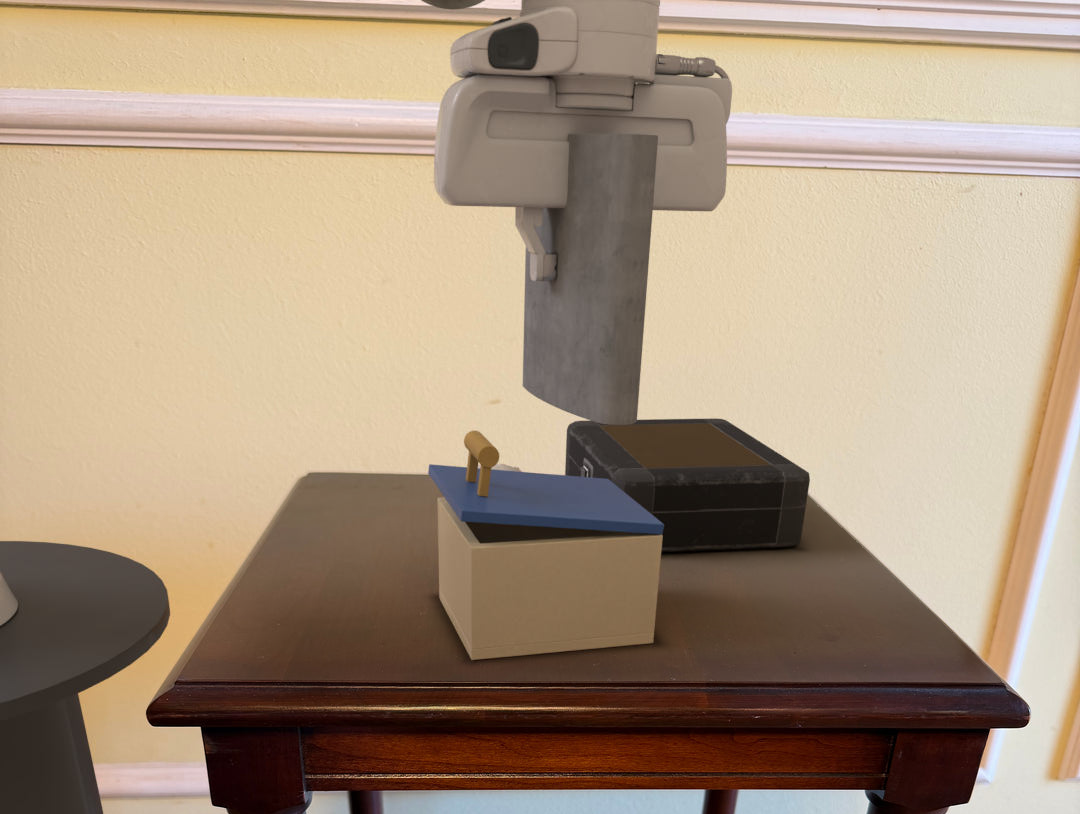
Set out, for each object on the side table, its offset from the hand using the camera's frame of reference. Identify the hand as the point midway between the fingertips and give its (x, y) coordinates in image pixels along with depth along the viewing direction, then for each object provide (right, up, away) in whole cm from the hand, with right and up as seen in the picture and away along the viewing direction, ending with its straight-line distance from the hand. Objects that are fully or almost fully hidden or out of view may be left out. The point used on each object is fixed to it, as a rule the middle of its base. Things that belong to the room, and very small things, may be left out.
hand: (578, 280), depth 73 cm
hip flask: (0, -8, +4) cm, 9 cm away
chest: (-3, -23, +12) cm, 26 cm away
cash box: (+12, -9, +39) cm, 41 cm away
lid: (-3, -14, +7) cm, 16 cm away
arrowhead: (-7, -3, +48) cm, 49 cm away
